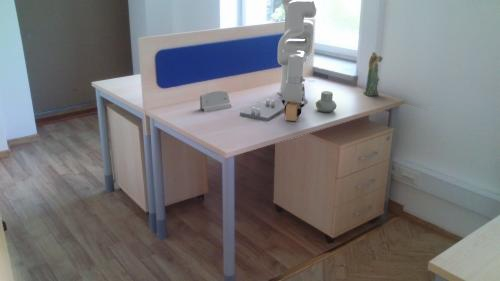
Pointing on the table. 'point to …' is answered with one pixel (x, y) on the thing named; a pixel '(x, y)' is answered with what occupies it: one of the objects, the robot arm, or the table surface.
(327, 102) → the grey green vase
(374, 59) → the statue
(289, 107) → the block
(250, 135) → the table surface
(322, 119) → the table surface
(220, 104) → the hinge
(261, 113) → the base plate
